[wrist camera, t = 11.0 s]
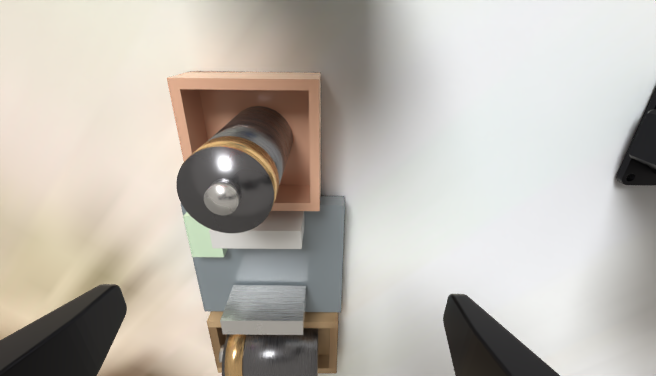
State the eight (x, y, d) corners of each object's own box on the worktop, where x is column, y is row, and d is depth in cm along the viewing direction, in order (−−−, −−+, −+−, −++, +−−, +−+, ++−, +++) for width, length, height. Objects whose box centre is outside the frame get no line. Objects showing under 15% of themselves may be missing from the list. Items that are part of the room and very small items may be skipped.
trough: (337, 305, 25) (338, 322, 23) (336, 355, 27) (336, 373, 26) (213, 304, 24) (206, 321, 23) (224, 354, 27) (218, 372, 26)
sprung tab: (305, 285, 22) (302, 321, 19) (306, 298, 22) (303, 335, 20) (233, 285, 22) (220, 320, 19) (235, 298, 22) (222, 334, 20)
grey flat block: (343, 196, 20) (346, 226, 17) (340, 299, 24) (342, 340, 21) (188, 194, 20) (161, 225, 17) (210, 299, 24) (192, 339, 21)
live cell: (318, 317, 25) (316, 353, 21) (318, 353, 26) (317, 394, 23) (226, 316, 25) (210, 353, 21) (230, 353, 26) (215, 394, 22)
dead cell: (294, 167, 19) (274, 243, 12) (233, 166, 19) (179, 242, 12) (291, 106, 17) (268, 153, 10) (225, 105, 17) (158, 151, 10)
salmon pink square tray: (320, 72, 17) (319, 79, 15) (320, 188, 20) (319, 211, 18) (190, 71, 17) (166, 77, 14) (210, 188, 20) (193, 210, 18)
